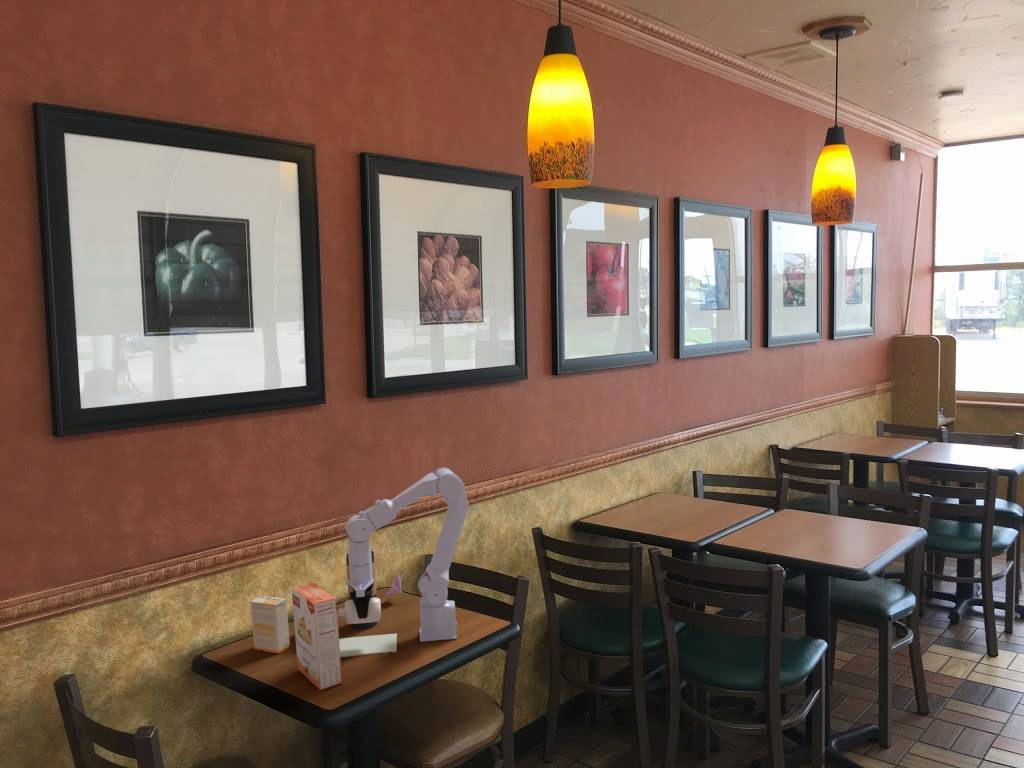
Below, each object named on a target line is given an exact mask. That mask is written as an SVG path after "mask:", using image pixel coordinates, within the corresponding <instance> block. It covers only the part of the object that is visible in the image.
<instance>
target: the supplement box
mask: <svg viewBox="0 0 1024 768" xmlns="http://www.w3.org/2000/svg"><path fill="white" fill-rule="evenodd" d="M249 603H250V611H251V612H250V613H251V625H252V636H253V637H252V639H253V649H254V650H255V649H257V650H256V651H260V650H263V651H262V652H268V653H272V654H273V653H274V654H277V655H278V654H281V653H282V652H284V651H286V650H287V649H289V648H290V647H291V642H290V630H289V620H288V619H289V618H288V608H287V607H288V605H287V604H288V603H287V598H282V597H276V596H268V595H260V596H258V597H256V598H254V599H253V600H250V602H249Z"/></svg>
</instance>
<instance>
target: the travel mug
mask: <svg viewBox="0 0 1024 768" xmlns="http://www.w3.org/2000/svg"><path fill="white" fill-rule="evenodd" d="M374 553H375V552H374V551H373V550H371V559H372V575H373V579H374V584H373V587H372V590H371V591H373V593H372V596H371V598H378V596H377V594H378V593H377V581H376V580H377V579H376V567H375V554H374ZM345 558H346V559H345V560H346V576H347V578H346V580H350V572H349V556H348V552H347V553H346V557H345ZM352 591H353V589H352V587H351V585H347V595H348V597H347V598H348V600H351V597H350V592H352ZM350 625H351V626H350V627H352V628H353V629H356V630H367V629H366V628H368V629H371V628H374V627H375V626H376V625H378V621H377V622H369V623H358V624H350ZM373 626H374V627H373ZM370 627H371V628H370Z"/></svg>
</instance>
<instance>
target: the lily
mask: <svg viewBox="0 0 1024 768" xmlns="http://www.w3.org/2000/svg"><path fill="white" fill-rule="evenodd" d="M407 571H408V569H406V570H405V571H404V572H403V573H402V574H401V575H400V573H397V575H396V576H395V578H394V580H393V581H392V583H389V586H390V587H391V588H390V589H389V590H388V591H387V593H386V594H385V595H384V596H383V597H382V599H380V604H381V603H382V602H383V601H384V599H386V598H387V597H388V599H390V598H391V596H392V595H395V594H399V593H401V594H402V595H403V596H404V599H405V600H406V601H407V603H410V600H409V599H408V597H407V595H405V593H404V592H403V590H402V584H401V583H402V579H403V577H404V575H405V573H406V572H407Z"/></svg>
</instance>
